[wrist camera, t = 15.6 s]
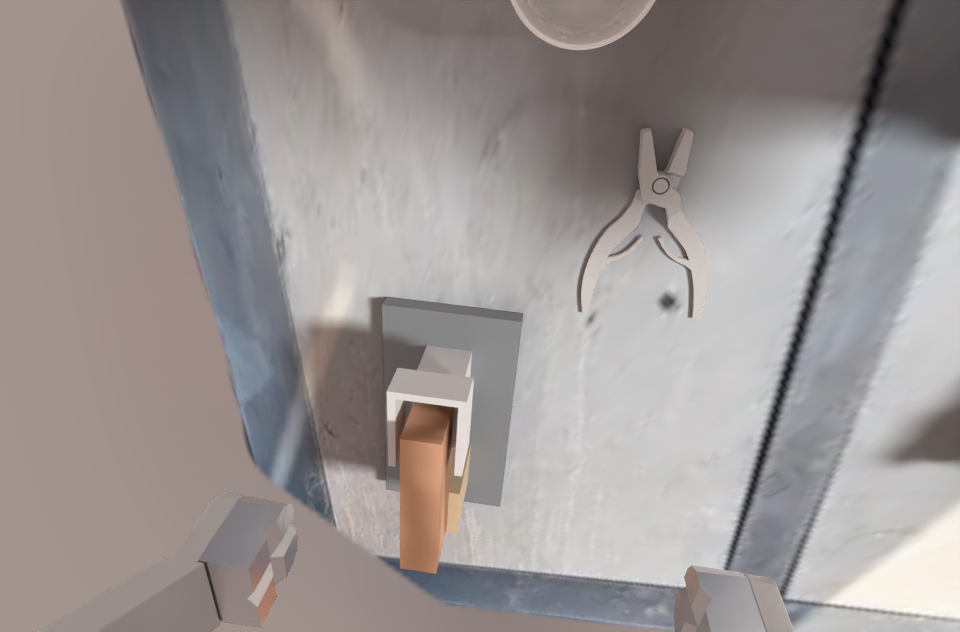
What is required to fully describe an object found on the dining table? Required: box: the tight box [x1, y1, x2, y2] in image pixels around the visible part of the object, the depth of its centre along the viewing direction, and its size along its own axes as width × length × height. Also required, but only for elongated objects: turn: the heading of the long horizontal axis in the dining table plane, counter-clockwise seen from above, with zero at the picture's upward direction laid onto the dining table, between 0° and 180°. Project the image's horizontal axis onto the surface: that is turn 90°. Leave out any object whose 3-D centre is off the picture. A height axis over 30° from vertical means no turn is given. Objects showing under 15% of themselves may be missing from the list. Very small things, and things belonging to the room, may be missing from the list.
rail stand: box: [382, 297, 523, 533], centre depth 48 cm, size 12×22×11 cm, turn 176°
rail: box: [400, 402, 454, 574], centre depth 44 cm, size 3×14×5 cm, turn 176°
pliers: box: [581, 127, 709, 320], centre depth 42 cm, size 10×2×15 cm
